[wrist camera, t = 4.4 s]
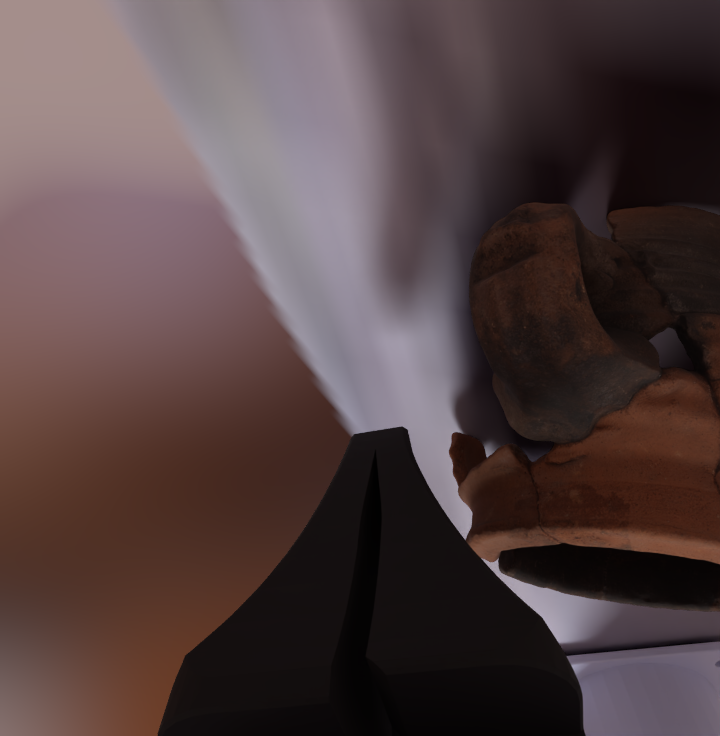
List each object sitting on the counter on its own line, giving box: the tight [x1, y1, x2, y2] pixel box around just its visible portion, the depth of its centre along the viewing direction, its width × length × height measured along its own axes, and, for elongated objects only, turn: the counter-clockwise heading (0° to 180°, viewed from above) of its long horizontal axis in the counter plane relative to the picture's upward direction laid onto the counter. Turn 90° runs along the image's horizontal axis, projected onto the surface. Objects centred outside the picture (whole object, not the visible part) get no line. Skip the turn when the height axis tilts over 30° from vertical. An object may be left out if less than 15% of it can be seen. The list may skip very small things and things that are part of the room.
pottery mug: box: [449, 202, 720, 611], centre depth 13 cm, size 12×10×8 cm
